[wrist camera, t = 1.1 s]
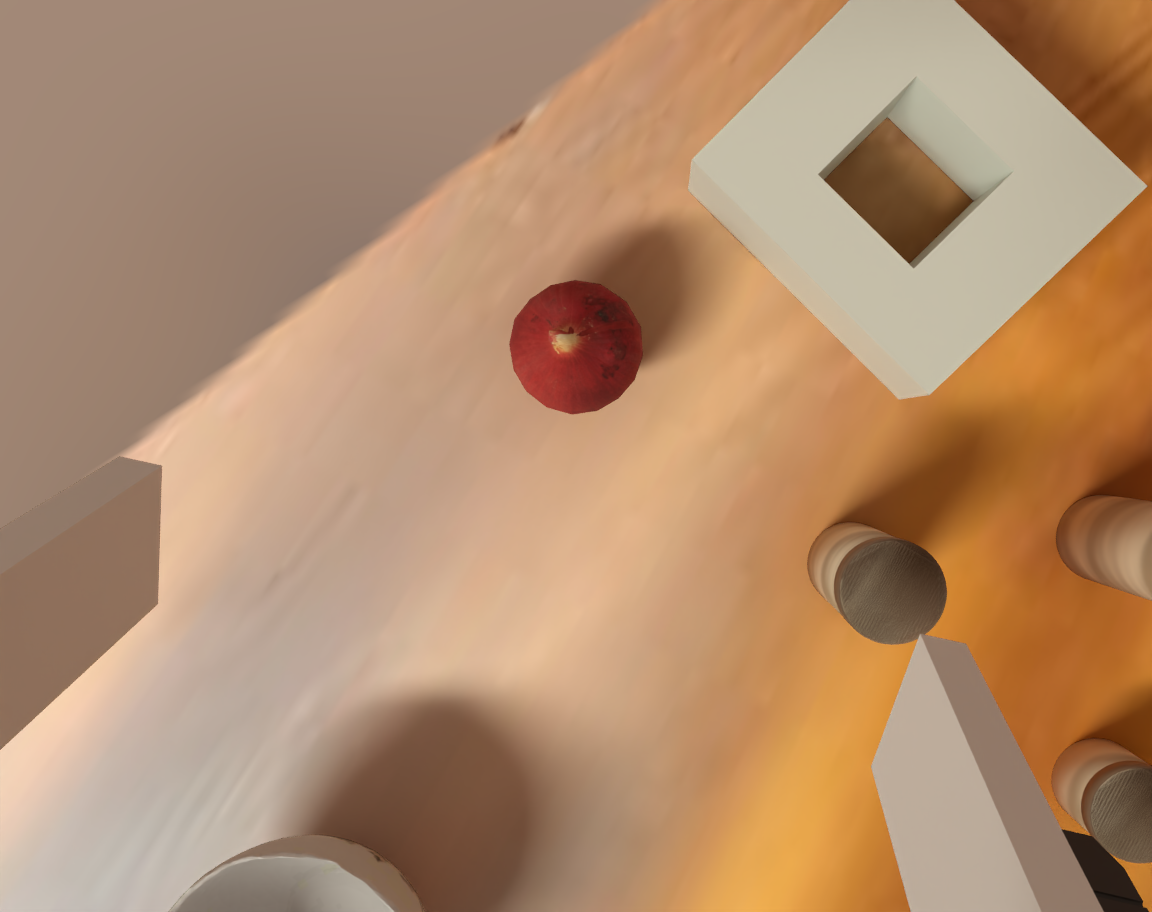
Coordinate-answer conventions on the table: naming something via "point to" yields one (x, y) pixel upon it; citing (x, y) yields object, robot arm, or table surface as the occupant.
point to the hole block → (953, 142)
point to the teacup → (303, 880)
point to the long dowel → (1109, 542)
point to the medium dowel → (878, 582)
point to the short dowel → (1107, 796)
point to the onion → (576, 347)
